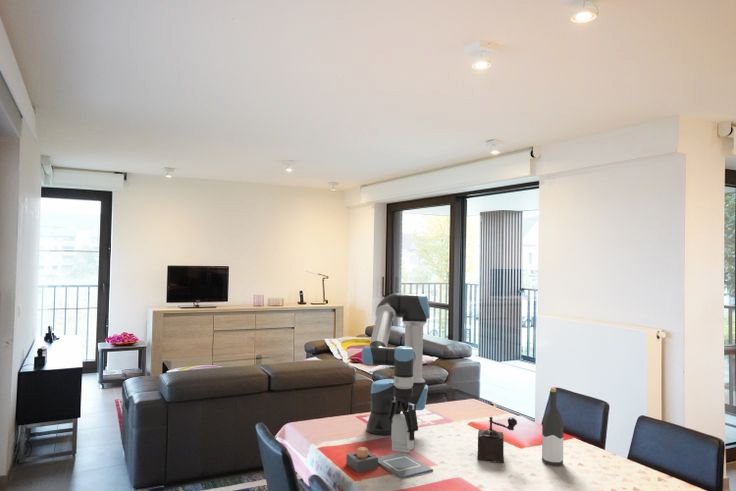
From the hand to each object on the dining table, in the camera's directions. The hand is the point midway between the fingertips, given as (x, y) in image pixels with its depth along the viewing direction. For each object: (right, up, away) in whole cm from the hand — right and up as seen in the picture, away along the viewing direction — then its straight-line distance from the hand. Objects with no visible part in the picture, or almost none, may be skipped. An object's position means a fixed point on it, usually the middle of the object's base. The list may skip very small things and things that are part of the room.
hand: (402, 443), depth 203 cm
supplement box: (0, -2, 0) cm, 2 cm away
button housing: (-16, -8, -1) cm, 18 cm away
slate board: (0, -9, 0) cm, 9 cm away
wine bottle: (+61, -10, +6) cm, 62 cm away
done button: (-16, -6, -1) cm, 17 cm away
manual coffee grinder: (+39, -10, +10) cm, 42 cm away
